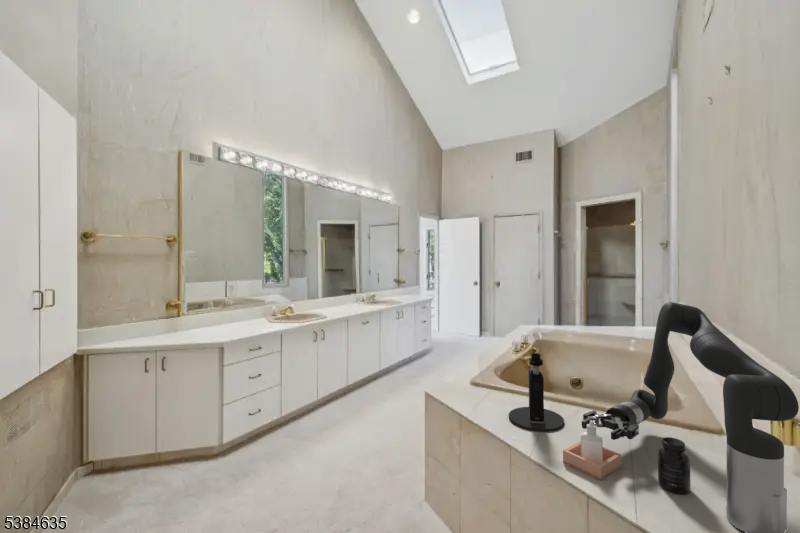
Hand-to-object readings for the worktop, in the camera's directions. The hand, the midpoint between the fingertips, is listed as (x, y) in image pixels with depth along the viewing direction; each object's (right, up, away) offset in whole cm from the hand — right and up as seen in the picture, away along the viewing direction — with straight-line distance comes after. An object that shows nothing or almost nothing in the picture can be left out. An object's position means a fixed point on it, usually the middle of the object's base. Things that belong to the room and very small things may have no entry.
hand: (597, 430), depth 111 cm
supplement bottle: (+13, -9, -13) cm, 20 cm away
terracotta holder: (-2, -9, -2) cm, 10 cm away
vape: (-8, -9, +29) cm, 31 cm away
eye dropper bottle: (-2, -9, -1) cm, 9 cm away
